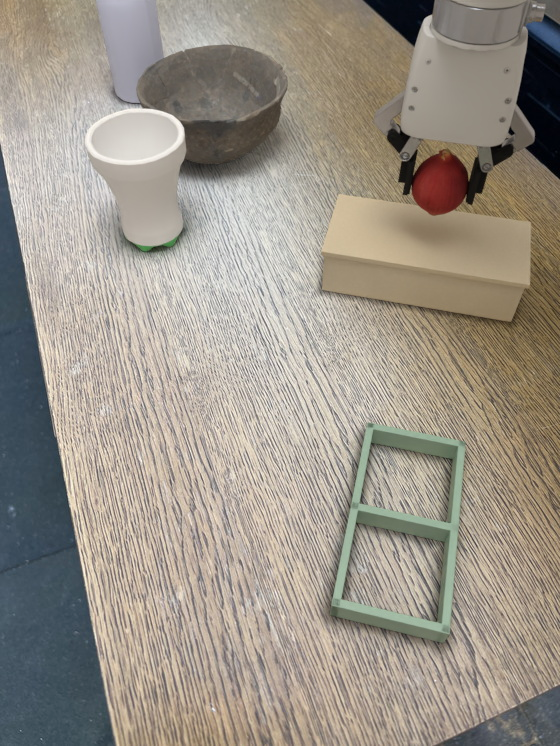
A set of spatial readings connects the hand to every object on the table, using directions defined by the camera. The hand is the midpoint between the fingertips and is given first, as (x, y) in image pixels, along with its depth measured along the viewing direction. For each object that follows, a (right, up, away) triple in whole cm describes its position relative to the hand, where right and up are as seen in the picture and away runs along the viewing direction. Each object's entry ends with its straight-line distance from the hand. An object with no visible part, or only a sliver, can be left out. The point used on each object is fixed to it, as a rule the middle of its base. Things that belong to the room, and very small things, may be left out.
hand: (438, 190), depth 69 cm
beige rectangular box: (0, -8, +10) cm, 12 cm away
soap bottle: (-40, +27, +37) cm, 60 cm away
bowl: (-26, +14, +27) cm, 40 cm away
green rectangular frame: (-6, -33, -10) cm, 35 cm away
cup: (-33, -1, +15) cm, 36 cm away
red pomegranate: (0, -2, +2) cm, 3 cm away
